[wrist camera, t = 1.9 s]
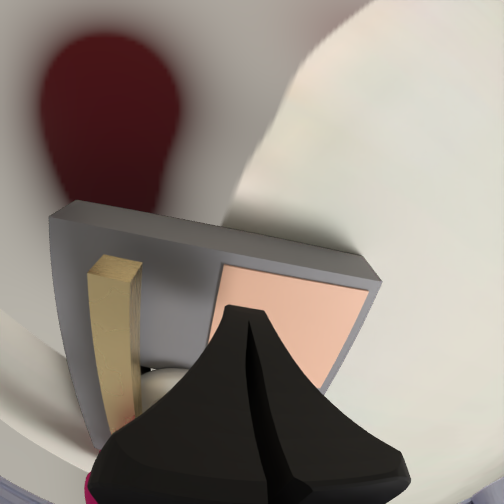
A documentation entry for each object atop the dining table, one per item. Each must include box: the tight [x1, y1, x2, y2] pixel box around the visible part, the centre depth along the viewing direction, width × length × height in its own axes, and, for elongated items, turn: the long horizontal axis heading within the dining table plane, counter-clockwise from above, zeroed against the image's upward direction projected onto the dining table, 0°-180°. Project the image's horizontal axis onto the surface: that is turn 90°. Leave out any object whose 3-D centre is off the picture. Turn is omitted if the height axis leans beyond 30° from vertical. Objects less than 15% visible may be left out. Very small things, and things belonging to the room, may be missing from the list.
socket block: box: [49, 200, 382, 450], centre depth 16 cm, size 19×14×3 cm
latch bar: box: [87, 254, 143, 435], centre depth 13 cm, size 17×2×1 cm, turn 167°
